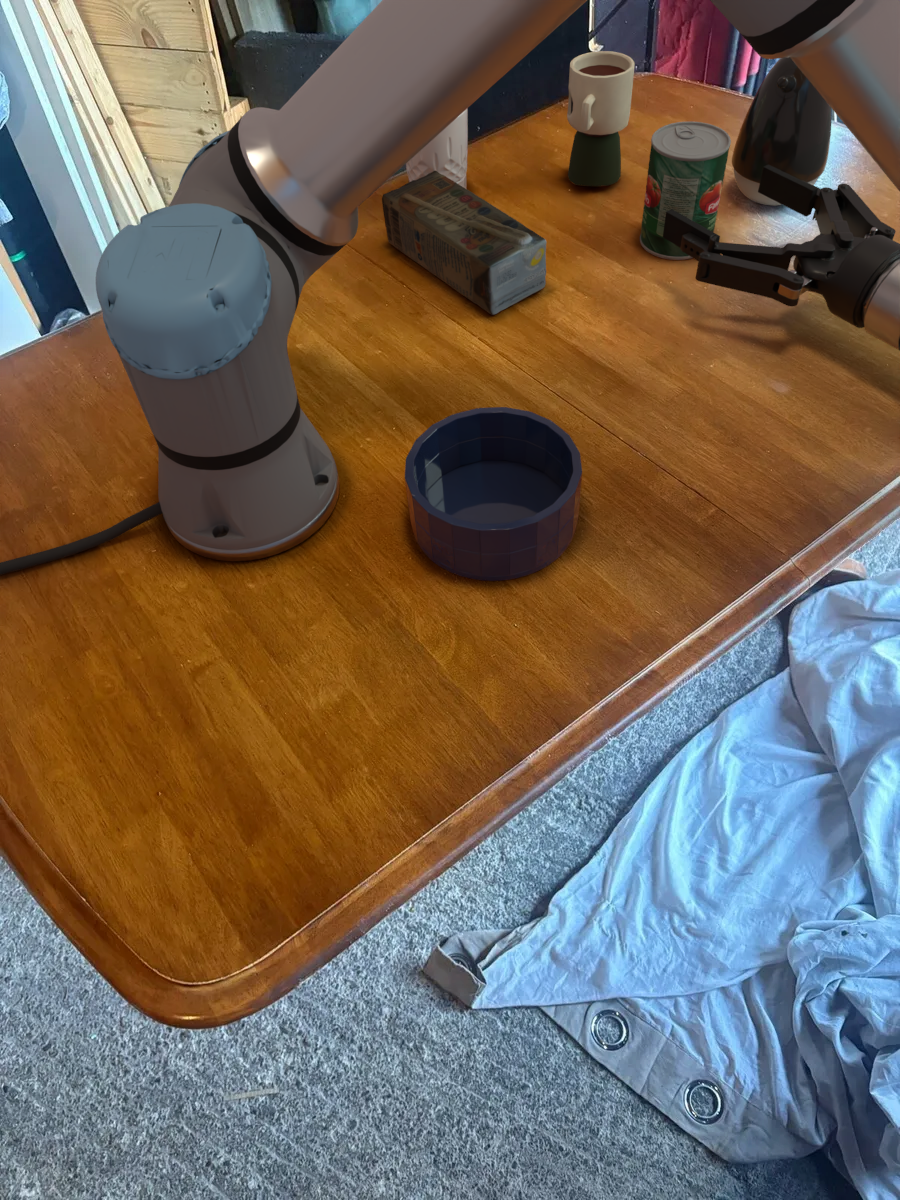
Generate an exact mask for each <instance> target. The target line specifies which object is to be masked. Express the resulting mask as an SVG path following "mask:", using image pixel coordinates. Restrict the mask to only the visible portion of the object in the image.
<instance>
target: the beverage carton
mask: <svg viewBox="0 0 900 1200" xmlns="http://www.w3.org/2000/svg"><path fill="white" fill-rule="evenodd" d="M381 203H382V212H383V218H384V225H385V229H386V236H387V237H386V238H387V242H388V243H389V244H390V245H392V246H393V247H394V248H395V249H397V250H398V251H399V252H401V253H403V254H404V256H407V257H408V258H409V259H411V260H412V261H414V262H415V263H417V264H418V265H420V266H421V267H422V268H423V269H425V270H426V271H428V272H429V273H431V274H432V275H434V276H435V277H436V278H438V279H439V280H441V281H442V282H443V283H445V284H447V285H448V286H449V287H451V288H452V289H453V290H455V291H456V292H458V293H459V294H460V295H462V296H464V297H465V298H467V300H469V301H470V302H472V303H474V304H476V305H477V306H479V307H480V308H481V309H482V310H484V311H486V312H487V313H488V314H489V315H491V316H494V315H497V314H498V313H500V312H502V311H504V310H506V309H508V308H509V307H511V306H513V305H515V304H517V303H520V301H522V300H524V299H526V298H527V297H530V296H531V295H533V294H535V293H537V292H540V291H541V290H543V289H544V288H545V287H546V285H547V281H546V278H547V277H546V276H547V259H546V258H547V255H546V254H547V243H548V242H547V239H546V238H544V237H543V236H541V235H540V234H538V233H537V232H535V231H533V230H532V229H530V228H528V227H526V225H524V224H523V223H522V222H520V221H518V220H516V219H515V218H513V217H512V216H511V215H509V214H507V213H506V212H504V211H502V210H501V209H499V208H497V207H496V206H495V205H493V204H492V203H490V202H489V201H487V200H485V199H484V198H482V197H480V196H479V195H478V194H477V195H476V194H475V193H474V192H473V191H471V190H469V189H467V188H466V189H465V188H464V187H462V186H461V185H459V184H457V183H456V182H454V181H453V180H451V179H449V178H447V177H446V176H444V175H442V174H440V173H438V172H437V171H433V172H431V173H429V174H427V175H426V176H424V177H421V178H419V179H418V180H413V181H411V182H409V181H408V182H407V183H405V184H404V185H402V186H399V187H398V188H395V189H392V190H390V191H388V192H386V193H383V194H382V196H381Z"/></svg>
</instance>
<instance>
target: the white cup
mask: <svg viewBox="0 0 900 1200" xmlns="http://www.w3.org/2000/svg"><path fill="white" fill-rule="evenodd" d="M468 117H469V107H468V108H467V109H466V110H465V111H464V112H463V113H462V114H460V115H459V116H458V117H457V118H456V119H455V120H454V121H453V122H452V123H450V124H449V125H448V126H447V127H446V128H445V129H444V130H443V131H442V132H440V133H439V134H438V135H437V136H436V137H435V138H434V139H433V140H432V141H430V142H429V143H428V144H427V145H426V146H425V147H424V148H423V149H422V150H420V151H419V152H418V153H417V154H416V155H415V156H414V157H413V158H412V159H410V160H409V161H408V162H407V163H406V164H405V170H406V174H407V177H408V183H409V182H411V181H413V180H418V179H419V178H421V177H424V176H426V175H427V174H429V173H431V172H433V171H437V172H438V173H440V174H442V175H444V176H446V177H447V178H449V179H451V180H453V181H454V182H456V183H457V184H459V185H461V186H462V187H464V188H465V189H467V172H468V171H467V170H468V151H469V139H468V138H469V127H468V125H469V123H468V122H469V118H468Z"/></svg>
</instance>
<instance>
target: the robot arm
mask: <svg viewBox="0 0 900 1200" xmlns="http://www.w3.org/2000/svg"><path fill="white" fill-rule="evenodd" d="M587 1H588V0H381V1H380V2H379V3H378V4H377V6H375V7H374V9H373V10H371V12H370V13H369V14H368V15H366V17H365V18H364V19H363V20H362V22H360V23H359V25H357V26H356V28H354V30H353V31H352V32H351V33H350V34H349V35H348V36H347V37H346V38H345V39H344V40H343V41H342V43H341V44H340V45H339V46H338V47H337V48H336V49H335V50H334V51H333V52H332V53H331V54H330V56H328V58H327V59H326V60H325V61H324V62H322V64H321V65H320V66H319V67H318V68H317V69H316V70H315V72H314V73H313V74H311V76H310V77H309V78H308V79H307V80H305V82H304V84H302V86H300V88H299V89H298V90H297V91H295V93H294V94H293V95H292V96H291V97H290V98H289V99H288V101H286V103H284V105H283V106H281V108H279V109H274V108H269V107H263V106H262V107H261V106H259V107H254V108H250V109H249V110H247V111H246V112H245V113H244V114H243V115H242V116H241V117H240V119H238V121H236V123H235V124H234V125H233V126H232V127H231V128H230V129H229V130H227V131H224V132H222V133H221V134H219V135H217V136H215V137H214V138H212V139H211V140H210V141H209V142H207V143H206V144H205V145H203V146H202V147H201V148H200V149H199V150H198V151H197V152H196V153H195V155H194V156H193V157H192V159H190V161H189V163H188V164H187V166H186V168H185V170H184V172H183V174H182V176H181V178H180V182H179V184H178V188H177V190H176V191H175V194H174V195H173V198H172V199H171V201H170V203H169V205H168V206H165V207H164V206H163V207H161V208H158V209H155V210H153V211H150V212H148V213H146V214H144V215H142V216H141V217H140V219H139V221H140V222H139V224H135V225H134V224H127V225H125V226H124V227H123V228H122V229H121V230H120V231H119V232H117V233H116V234H115V235H114V237H112V239H111V240H110V241H109V243H108V244H107V245H106V247H105V248H104V249H103V251H102V254H101V255H100V258H99V261H98V264H97V268H96V272H95V292H96V297H97V299H98V300H97V301H98V303H99V305H100V309H101V311H102V321H103V324H104V327H105V330H106V332H107V336H108V338H109V340H110V343H111V344H112V346H113V348H115V350H116V352H117V354H118V356H119V359H120V361H121V363H122V366H123V368H124V370H125V372H126V375H127V378H128V379H129V382H130V384H131V387H132V389H133V391H134V394H135V395H136V398H137V400H138V403H139V406H140V408H141V409H142V412H143V414H144V417H145V419H146V422H147V424H148V426H149V428H150V430H151V433H152V435H153V438H154V440H155V443H156V445H157V448H158V451H157V452H158V453H157V454H158V465H157V467H158V469H157V470H158V471H157V472H158V473H157V475H158V476H157V478H158V481H157V483H158V484H157V485H158V486H157V489H158V491H157V492H158V493H157V495H158V502H156V503H153V504H151V505H150V506H147V507H145V508H143V509H142V510H140V511H137V512H136V513H134V514H132V515H130V516H127V517H126V518H124V519H122V520H120V521H119V522H117V523H115V524H114V525H112V526H110V527H107V528H106V529H104V530H101V531H99V532H96V533H94V534H91V535H89V536H86V537H83V538H80V539H77V540H74V541H71V542H69V543H65V544H63V545H59V546H56V547H53V548H49V549H46V550H41V551H39V552H34V553H31V554H27V555H24V556H23V555H22V556H19V557H16V558H12V559H8V560H4V561H0V576H1V575H5V574H9V573H13V572H16V571H21V570H24V569H28V568H32V567H35V566H39V565H43V564H46V563H49V562H53V561H57V560H61V559H63V558H66V557H70V556H73V555H75V554H78V553H82V552H84V551H87V550H91V549H93V548H95V547H98V546H100V545H103V544H105V543H107V542H110V541H112V540H114V539H116V538H118V537H120V536H122V535H124V534H126V533H127V532H128V531H130V530H132V529H135V528H136V527H138V526H140V525H142V524H144V523H146V522H148V521H150V520H152V519H155V518H156V517H158V516H159V515H162V517H163V519H164V522H165V524H166V527H167V528H168V530H169V532H170V534H171V535H172V536H173V538H174V539H175V540H176V541H177V542H178V543H179V544H180V545H181V546H183V547H184V548H185V549H187V550H188V551H190V552H192V553H194V554H197V555H199V556H201V557H204V558H208V559H212V560H217V561H223V562H246V561H247V562H248V561H255V560H260V559H261V560H262V559H264V558H268V557H272V556H276V555H279V554H280V553H283V552H286V551H288V550H290V549H292V548H294V547H296V546H298V545H300V544H301V543H303V542H304V541H306V540H307V539H309V538H310V537H311V536H312V535H314V534H316V532H317V531H318V530H320V528H321V527H322V526H323V525H324V524H325V523H326V521H327V520H328V519H329V518H330V516H331V515H332V513H333V511H334V509H335V508H336V505H337V502H338V500H339V495H340V477H339V472H338V468H337V464H336V460H335V458H334V456H333V454H332V452H331V450H330V448H329V446H328V445H327V443H326V441H325V440H324V438H323V437H322V436H321V434H320V433H319V432H318V430H317V428H316V427H315V426H314V424H313V423H312V422H311V420H310V419H309V418H308V416H307V415H306V413H305V412H304V411H303V409H302V408H301V404H300V401H299V396H298V393H297V387H296V384H295V379H294V374H293V371H292V367H291V362H290V358H289V354H288V353H289V352H288V338H289V334H290V331H291V327H292V324H293V322H294V318H295V314H296V312H297V309H298V306H299V301H300V297H301V294H302V291H303V288H304V286H305V285H306V283H307V281H308V280H309V279H310V278H311V277H312V276H313V275H314V274H315V273H316V272H317V271H319V269H321V268H322V267H323V266H324V265H325V264H326V263H327V262H329V260H331V259H332V258H333V257H334V256H335V255H336V254H337V253H339V252H340V250H342V249H343V248H344V247H345V246H346V245H348V244H349V243H350V242H351V241H352V240H353V239H354V238H355V236H356V234H357V233H358V228H359V207H360V205H362V204H363V203H364V202H365V201H366V200H367V199H368V198H369V197H370V196H372V195H373V194H375V192H376V191H377V190H378V189H380V188H381V187H382V186H383V185H384V184H386V182H388V180H389V179H391V178H392V177H393V176H394V175H395V174H396V173H397V172H398V171H400V169H402V168H403V167H404V166H406V163H407V162H408V161H409V160H410V159H412V158H413V157H414V156H415V155H416V154H417V153H418V152H419V151H420V150H422V149H423V148H424V147H425V146H426V145H427V144H428V143H429V142H430V141H432V140H433V139H434V138H435V137H436V136H437V135H438V134H439V133H440V132H442V131H443V130H444V129H445V128H446V127H447V126H448V125H449V124H450V123H452V122H453V121H454V120H455V119H456V118H457V117H458V116H459V115H460V114H462V113H463V112H464V111H465V110H466V109H467V108H468V109H469V108H470V107H471V106H472V105H473V104H474V103H475V102H476V101H477V100H478V99H479V98H480V97H482V96H483V95H484V94H485V93H486V92H487V91H489V90H490V89H491V88H492V87H493V86H494V85H495V84H496V83H498V81H500V80H501V79H502V78H503V77H504V76H505V75H506V74H507V73H509V72H510V71H511V70H512V69H513V68H514V67H516V65H517V64H519V63H520V62H521V61H522V60H523V59H524V58H525V57H526V56H527V55H528V54H529V53H531V52H532V51H533V50H534V49H535V48H536V47H537V46H538V45H540V44H541V43H542V42H543V41H544V40H545V39H546V38H547V37H548V36H550V35H551V34H552V33H553V32H554V31H555V30H556V29H558V27H559V26H561V25H562V24H563V23H564V22H565V21H566V20H567V19H569V17H571V16H572V15H573V14H574V13H575V12H576V11H577V10H579V9H580V8H581V7H582V6H583V5H584V4H585V3H586V2H587ZM709 1H710V2H711V3H712V5H713V6H715V8H716V9H717V10H718V11H719V12H720V13H721V14H722V15H723V16H724V18H725V19H726V20H727V21H728V22H729V23H730V24H731V25H732V26H733V27H734V28H735V30H736V31H738V33H739V34H740V35H741V36H742V37H743V38H744V40H745V41H746V42H747V43H748V45H749V46H750V47H751V48H752V49H753V50H754V52H755V53H756V54H757V55H758V56H759V57H761V58H762V59H765V60H778V59H780V58H786V57H790V58H791V59H792V60H793V62H794V63H795V64H796V65H797V66H798V68H799V69H800V70H801V71H802V73H803V74H804V75H805V76H806V77H807V79H808V80H809V81H810V82H811V84H812V85H813V86H814V87H815V88H816V90H817V91H818V92H819V93H820V95H821V96H822V97H823V98H824V100H825V101H826V102H827V103H828V104H829V106H830V107H831V108H832V111H833V112H834V113H835V115H836V116H837V117H838V118H839V119H840V120H841V122H842V123H843V124H844V126H846V128H847V129H848V130H849V131H850V133H851V135H853V136H854V138H855V139H856V140H857V141H858V143H859V144H860V145H861V146H862V147H863V149H864V150H865V151H866V152H867V154H868V155H869V156H870V157H871V159H873V161H874V162H875V163H876V165H877V167H879V169H881V171H882V172H883V173H884V175H885V176H886V177H887V178H888V179H889V181H890V182H891V183H892V184H893V185H894V187H895V188H896V189H897V190H898V191H899V192H900V0H709ZM758 193H760V194H762V195H764V196H766V197H768V198H770V199H772V200H774V201H776V202H778V203H780V204H782V205H781V206H784V207H786V208H788V209H790V210H792V211H793V212H795V213H798V214H800V215H802V216H804V217H808V216H810V215H813V216H812V219H811V221H816V224H817V227H818V230H819V234H818V235H816V236H814V238H813V239H812V240H808V241H804V242H803V243H793V242H789V243H786V244H785V245H784V246H782V247H781V246H780V247H779V246H767V245H757V244H756V245H755V244H745V243H744V244H743V243H733V242H722V241H721V242H720V238H721V236H720V235H719V234H717V233H715V231H714V232H712V231H710V230H708V229H707V228H705V227H703V226H701V225H699V224H698V223H696V222H694V221H692V220H690V219H689V218H687V217H685V216H683V215H681V214H680V213H678V212H676V211H674V210H673V209H671V210H669V211H667V212H666V217H665V224H664V231H663V238H665V239H666V240H668V241H670V242H672V243H673V244H675V245H677V246H678V247H680V249H681V250H682V252H684V253H686V254H687V255H689V256H691V257H692V258H691V259H694V260H695V261H697V267H696V272H695V273H696V274H695V280H696V281H698V282H700V283H705V284H709V285H713V286H717V287H721V288H725V289H730V290H734V291H738V292H743V293H746V294H752V295H756V296H760V297H764V298H768V299H772V300H774V301H776V302H778V303H781V304H782V305H784V306H787V307H796V306H797V305H798V304H799V300H800V297H801V295H803V294H805V293H806V292H810V293H815V294H818V295H821V296H822V297H823V299H824V302H825V303H826V307H827V309H828V310H829V312H830V313H831V314H832V315H834V316H836V317H838V318H839V319H841V320H843V321H845V322H846V323H849V324H850V325H852V326H853V327H856V328H858V329H864V331H865V332H866V333H867V334H869V335H870V336H873V337H874V338H877V339H878V340H880V341H881V342H884V343H885V344H887V345H889V346H891V347H893V348H894V349H896V350H898V351H900V243H899V242H897V241H895V240H894V237H895V234H896V232H897V231H896V229H895V228H893V227H892V226H890V225H888V224H886V223H885V222H883V221H881V219H880V218H879V217H878V216H877V215H876V214H875V213H874V212H873V210H872V209H871V208H870V207H869V206H868V205H867V204H866V202H864V200H863V199H862V198H861V197H860V196H859V194H857V192H856V191H855V190H854V189H853V187H852V186H851V185H849V184H847V183H840V184H838V185H837V188H836V189H832V188H831V187H826V186H825V187H822V188H820V187H818V186H815V184H814V185H811V184H810V183H807V182H805V181H803V180H800V179H798V178H796V177H794V176H791V175H789V174H787V173H785V172H783V171H781V170H779V169H777V168H775V167H773V166H771V165H769V164H768V165H766V166H764V167H763V171H762V176H761V180H760V185H759V189H758ZM813 209H814V212H813V214H812V211H813ZM793 257H794V259H793V263H792V266H793V269H791V270H789V269H790V264H791V261H792V258H793Z"/></svg>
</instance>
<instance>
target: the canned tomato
mask: <svg viewBox="0 0 900 1200" xmlns="http://www.w3.org/2000/svg"><path fill="white" fill-rule="evenodd" d="M650 142H651V144H650V150H649V153H650V154H649V159H648V168H647V177H646V184H645V192H644V195H645V196H644V201H643V202H644V204H643V209H642V210H643V211H642V218H641V228H640V234H639V243H640V246H641V247H642V248H643V249H644V250H645V251H646V252H647V253H649V254H651V255H652V256H655V257H657V258H661V259H666V260H671V261H684V260H691V259H693V258H692V257H691V256H689V255H687V254H686V253H684V252H682V250H681V249H680V247H678V246H677V245H675V244H673V243H672V242H670V241H668V240H666V239H665V238H663V231H664V224H665V217H666V212H667V211H669V210H671V209H673V210H674V211H676V212H678V213H680V214H681V215H683V216H685V217H687V218H689V219H690V220H692V221H694V222H696V223H698V224H699V225H701V226H703V227H705V228H707V229H708V230H710V231H712V232H714V233H715V228H716V222H717V216H718V213H719V212H718V210H719V207H720V201H721V194H722V189H723V185H724V179H725V172H726V169H727V163H728V158H729V157H728V156H729V151H730V147H731V144H732V139H731V136H730V135H729V133H728V132H727V131H726V130H724V129H723V128H721V127H719V126H717V125H714V124H711V123H707V122H702V121H677V122H672V123H669V124H665V125H663V126H661V127H659V128H658V129H656V130H655V131H654V132H653V134H652V135H651V138H650Z"/></svg>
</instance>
